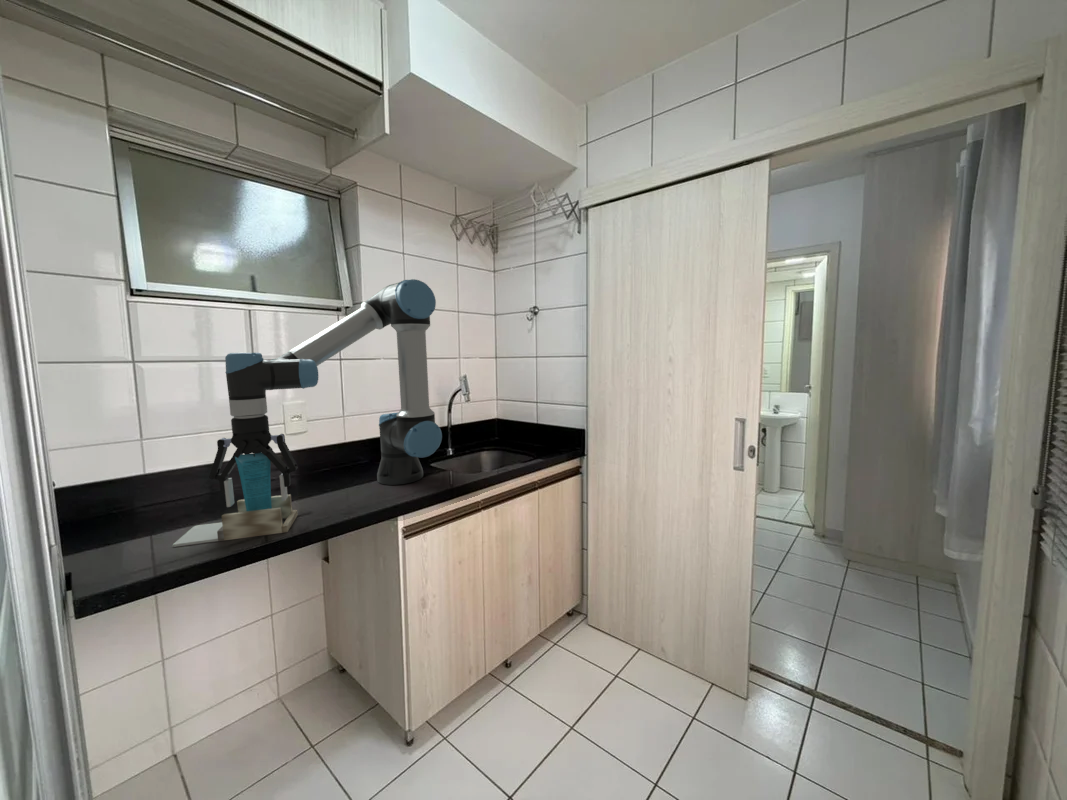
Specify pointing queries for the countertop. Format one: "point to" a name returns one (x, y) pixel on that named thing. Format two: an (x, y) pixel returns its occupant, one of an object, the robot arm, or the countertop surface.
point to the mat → (200, 535)
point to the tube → (255, 480)
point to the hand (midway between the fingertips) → (258, 502)
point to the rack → (258, 520)
